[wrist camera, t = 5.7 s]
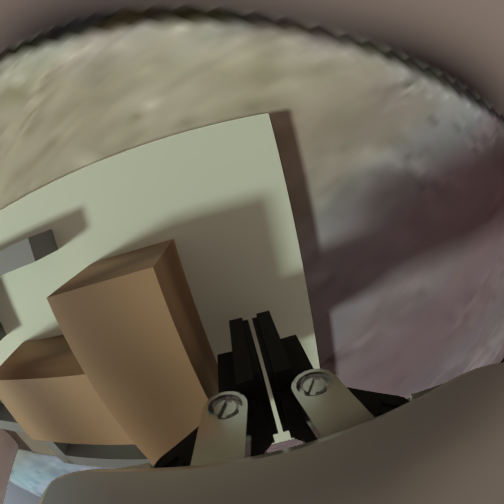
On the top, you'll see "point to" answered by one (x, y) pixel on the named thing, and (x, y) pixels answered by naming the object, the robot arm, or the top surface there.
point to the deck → (155, 231)
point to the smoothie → (6, 460)
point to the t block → (116, 358)
